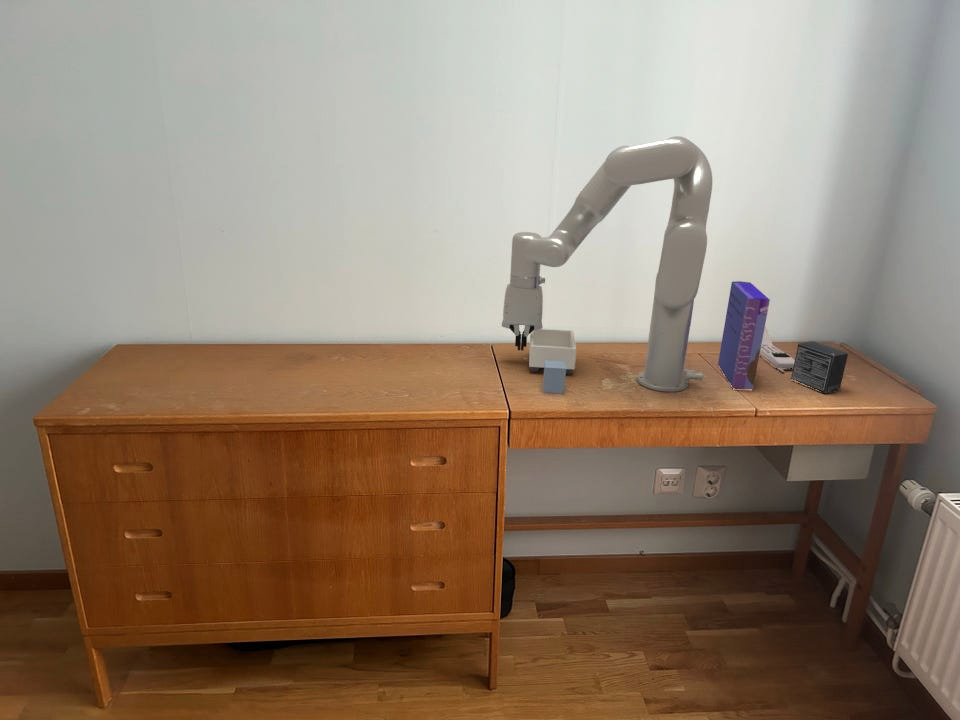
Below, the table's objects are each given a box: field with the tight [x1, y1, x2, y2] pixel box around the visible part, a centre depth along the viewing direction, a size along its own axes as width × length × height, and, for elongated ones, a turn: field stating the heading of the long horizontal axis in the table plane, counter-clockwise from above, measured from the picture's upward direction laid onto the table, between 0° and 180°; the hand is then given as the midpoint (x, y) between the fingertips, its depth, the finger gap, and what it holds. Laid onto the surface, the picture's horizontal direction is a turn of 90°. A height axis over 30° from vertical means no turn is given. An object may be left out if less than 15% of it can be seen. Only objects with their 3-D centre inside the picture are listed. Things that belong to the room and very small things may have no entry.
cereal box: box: [717, 280, 771, 390], centre depth 179 cm, size 17×5×24 cm, turn 174°
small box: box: [790, 340, 849, 395], centre depth 178 cm, size 11×6×10 cm, turn 29°
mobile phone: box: [760, 326, 795, 371], centre depth 198 cm, size 6×6×25 cm
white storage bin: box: [528, 328, 577, 375], centre depth 184 cm, size 12×16×7 cm
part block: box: [542, 360, 567, 395], centre depth 169 cm, size 5×5×7 cm
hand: (520, 348), depth 185 cm, fingers closed
